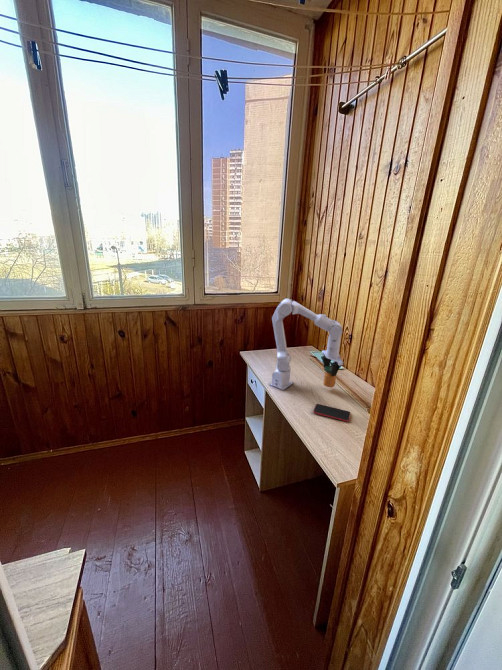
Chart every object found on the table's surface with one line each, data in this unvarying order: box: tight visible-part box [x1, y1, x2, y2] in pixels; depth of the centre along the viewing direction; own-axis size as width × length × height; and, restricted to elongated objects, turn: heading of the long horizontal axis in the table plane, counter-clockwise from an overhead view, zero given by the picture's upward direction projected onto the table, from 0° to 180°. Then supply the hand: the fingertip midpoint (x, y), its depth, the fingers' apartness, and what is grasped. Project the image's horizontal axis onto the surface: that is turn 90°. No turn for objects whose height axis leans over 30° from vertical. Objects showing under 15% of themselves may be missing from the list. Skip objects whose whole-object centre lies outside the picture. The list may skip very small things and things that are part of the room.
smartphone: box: [312, 403, 351, 423], centre depth 128 cm, size 7×1×15 cm
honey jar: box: [322, 371, 337, 388], centre depth 145 cm, size 6×6×7 cm
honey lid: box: [323, 365, 332, 373], centre depth 144 cm, size 6×6×1 cm
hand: (330, 372), depth 144 cm, fingers closed on honey lid, 5 cm apart
